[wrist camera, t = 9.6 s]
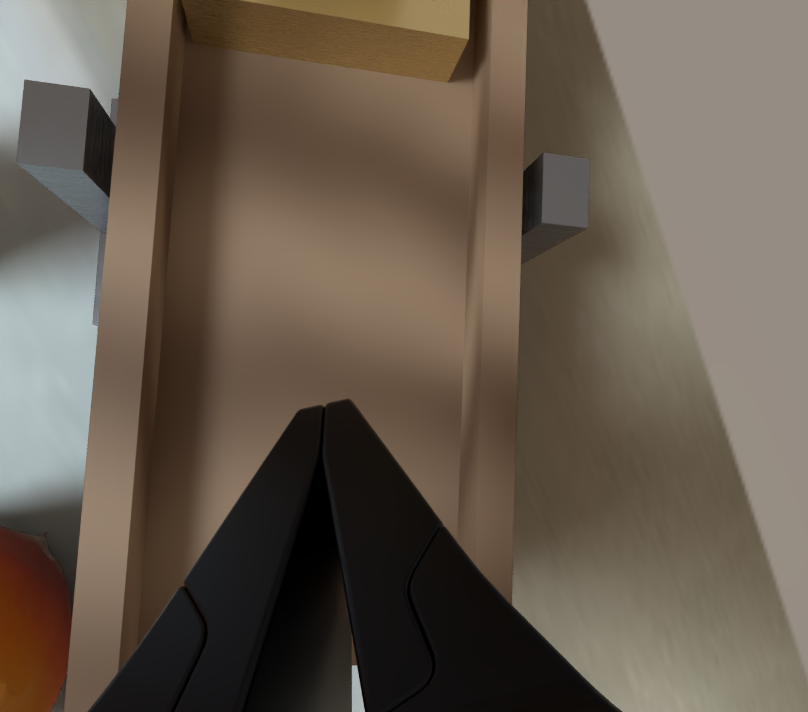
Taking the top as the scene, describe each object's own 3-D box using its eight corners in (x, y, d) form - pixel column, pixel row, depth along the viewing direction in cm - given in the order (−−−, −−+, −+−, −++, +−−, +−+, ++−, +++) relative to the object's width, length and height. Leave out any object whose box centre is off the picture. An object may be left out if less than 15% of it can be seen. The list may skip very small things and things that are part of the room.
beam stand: (497, 352, 23) (595, 334, 15) (102, 327, 20) (-12, 290, 12) (503, 163, 23) (601, 59, 16) (120, 112, 20) (22, -46, 13)
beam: (468, 615, 18) (524, 685, 14) (112, 627, 16) (42, 716, 11) (492, -119, 20) (547, -263, 16) (180, -193, 18) (143, -383, 14)
